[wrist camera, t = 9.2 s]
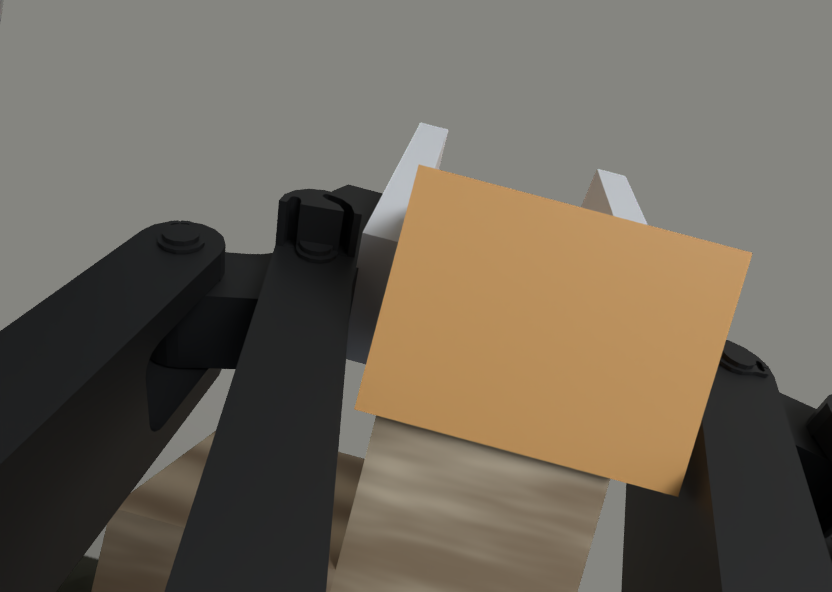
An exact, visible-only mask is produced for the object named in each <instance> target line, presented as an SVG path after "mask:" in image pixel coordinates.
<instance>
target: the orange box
mask: <svg viewBox="0 0 832 592" xmlns="http://www.w3.org/2000/svg"><path fill="white" fill-rule="evenodd" d="M751 257H752V253H751V252H747V251H744V250H740V249H736V248H732V247H729V246H725V245H721V244H717V243H713V242H710V241H706V240H702V239H698V238H695V237H691V236H687V235H683V234H680V233H676V232H672V231H668V230H664V229H661V228H657V227H653V226H649V225H646V224H642V223H638V222H634V221H631V220H627V219H623V218H619V217H616V216H612V215H608V214H604V213H600V212H597V211H593V210H589V209H585V208H582V207H577V206H574V205H570V204H566V203H563V202H559V201H555V200H551V199H547V198H544V197H540V196H536V195H533V194H529V193H525V192H521V191H517V190H514V189H510V188H506V187H502V186H498V185H495V184H491V183H487V182H483V181H479V180H476V179H472V178H468V177H465V176H461V175H457V174H453V173H449V172H446V171H442V170H438V169H435V168H431V167H427V166H423V165H418V169H417V173H416V177H415V180H414V184H413V188H412V192H411V196H410V199H409V203H408V207H407V211H406V215H405V218H404V222H403V226H402V230H401V234H400V237H399V241H398V245H397V249H396V253H395V256H394V260H393V264H392V268H391V272H390V275H389V279H388V283H387V287H386V291H385V294H384V298H383V302H382V306H381V310H380V313H379V317H378V321H377V325H376V329H375V332H374V336H373V340H372V344H371V348H370V351H369V355H368V359H367V363H366V367H365V370H364V374H363V378H362V382H361V385H360V390H359V393H358V397H357V401H356V405H355V408H354V409H355V410H359V411H363V412H366V413H370V414H373V415H377V416H381V417H384V418H388V419H392V420H396V421H399V422H403V423H407V424H410V425H414V426H418V427H421V428H425V429H429V430H433V431H436V432H440V433H444V434H447V435H451V436H455V437H458V438H462V439H466V440H469V441H473V442H477V443H481V444H484V445H488V446H492V447H495V448H499V449H503V450H506V451H510V452H514V453H518V454H521V455H525V456H529V457H532V458H536V459H540V460H543V461H547V462H551V463H555V464H558V465H562V466H566V467H569V468H573V469H577V470H580V471H584V472H588V473H592V474H595V475H599V476H603V477H606V478H610V479H614V480H618V481H621V482H625V483H629V484H632V485H636V486H640V487H643V488H647V489H651V490H654V491H658V492H662V493H665V494H669V495H673V496H677V497H678V496H679V492H680V489H681V486H682V483H683V479H684V476H685V473H686V470H687V466H688V463H689V460H690V456H691V453H692V450H693V447H694V443H695V440H696V437H697V434H698V430H699V427H700V424H701V420H702V417H703V414H704V411H705V407H706V404H707V401H708V398H709V394H710V391H711V388H712V384H713V381H714V378H715V375H716V371H717V368H718V365H719V362H720V358H721V355H722V352H723V348H724V345H725V342H726V338H727V335H728V332H729V329H730V325H731V322H732V319H733V315H734V312H735V309H736V306H737V303H738V299H739V296H740V293H741V290H742V286H743V283H744V280H745V276H746V273H747V270H748V267H749V263H750V260H751Z"/></svg>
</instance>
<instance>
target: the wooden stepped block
mask: <svg viewBox="0 0 832 592" xmlns="http://www.w3.org/2000/svg"><path fill="white" fill-rule="evenodd" d="M215 432H216V431H215ZM215 432H213V433H212V434H211V435H209V436H208V437H207V438H205V439H204V440H203V441H201V442H200V443H199V444H197V445H196V446H194V447H193V448H192V449H190V450H189V451H187V452H186V453H185V454H183V455H182V456H181V457H179V458H178V459H177V460H175V461H174V462H172V463H171V464H170V465H168V466H167V467H166V468H164V469H163V470H161V471H160V472H159V473H157V474H156V475H155V476H153V477H152V478H151V479H149V480H148V481H146V482H145V483H144V484H143V485H141V486H140V487H138V488H137V489H135V490H134V491H133V492H132V493H130V494H129V495H128V497H127V498H126V499H125V501H124V502H123V503H122V505H121V506H120V507H119V509H118V510H117V511H116V513H115V514H114V515H113V517H112V518H111V519H110V521H109V522H108V523H107V527H106V531H105V535H104V540H103V544H102V548H101V552H100V557H99V561H98V565H97V569H96V574H95V578H94V582H93V586H92V591H91V592H164V591H165V588H166V585H167V582H168V579H169V576H170V572H171V569H172V566H173V563H174V560H175V557H176V554H177V551H178V548H179V544H180V541H181V538H182V535H183V532H184V529H185V526H186V523H187V520H188V516H189V513H190V510H191V507H192V504H193V501H194V498H195V495H196V491H197V488H198V485H199V482H200V479H201V476H202V473H203V470H204V467H205V463H206V460H207V457H208V454H209V451H210V448H211V445H212V442H213V438H214V435H215ZM609 481H610V478H606V477H603V476H599V475H595V474H592V473H588V472H584V471H580V470H577V469H573V468H569V467H566V466H562V465H558V464H555V463H551V462H547V461H543V460H540V459H536V458H532V457H529V456H525V455H521V454H518V453H514V452H510V451H506V450H503V449H499V448H495V447H492V446H488V445H484V444H481V443H477V442H473V441H469V440H466V439H462V438H458V437H455V436H451V435H447V434H444V433H440V432H436V431H433V430H429V429H425V428H421V427H418V426H414V425H410V424H407V423H403V422H399V421H396V420H392V419H388V418H384V417H381V416H377V415H376V419H375V422H374V426H373V430H372V434H371V437H370V441H369V445H368V449H367V453H366V456H365V459H362V458H359V457H355V456H352V455H348V454H344V453H341V452H338V458H337V469H336V481H335V493H334V505H333V516H332V528H331V540H330V552H329V563H328V575H327V587H326V592H578V588H579V585H580V581H581V578H582V574H583V571H584V568H585V564H586V561H587V557H588V553H589V550H590V547H591V543H592V540H593V536H594V533H595V530H596V526H597V522H598V519H599V516H600V512H601V509H602V505H603V502H604V498H605V495H606V491H607V488H608V485H609Z"/></svg>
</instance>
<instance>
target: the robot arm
mask: <svg viewBox="0 0 832 592" xmlns="http://www.w3.org/2000/svg"><path fill="white" fill-rule="evenodd" d="M2 6H3V0H0V21H1V14H2ZM447 134H448V129H444V128H440V127H436V126H432V125H428V124H425V123H420V124H419V126H418V129H417V130H416V132H415V134H414V136H413V138H412V140H411V142H410V144H409V145H408V147H407V149H406V151H405V153H404V155H403V157H402V159H401V161H400V162H399V164H398V166H397V168H396V170H395V172H394V174H393V176H392V178H391V179H390V182H389V183H388V185H387V187H386V189H385V191H384V193H383V194H382V193H378V192H374V191H371V190H366V189H363V188H359V187H355V186H351V185H346V186H344V187H341V188H339V189H337V190H334V191H332V192H329V191H325V190H315V189H304V190H295V191H292V192H290V193H287V194H284V196H283V197H282V198H281V199H280V200H279V209H278V220H277V233H276V245H275V248H274V252H273V253H269V254H240V253H227V252H225V241H224V238H223V236H222V235H221V234H220V233H218V232H217V231H216V230H215V229H213V228H210V227H208V226H205V225H203V224H198V223H193V222H190V221H169V222H165V223H160V224H154V225H152V226H150V227H148V228H146V229H144V230H142V231H140V232H139V233H138V234H136V235H135V236H133V237H132V238H130V239H129V240H128V241H127V242H125V243H123V244H122V245H121V246H119V247H118V248H116V249H115V250H114V251H112V252H111V253H109V254H108V255H107V256H105V257H104V258H103V259H101V260H100V261H98V262H97V263H95V264H94V265H93V266H91V267H90V268H88V269H87V270H86V271H84V272H83V273H81V274H80V275H79V276H77V277H76V278H74V279H73V280H71V281H70V282H69V283H67V284H66V285H64V286H63V287H62V288H60V289H59V290H57V291H56V292H55V293H53V294H52V295H50V296H49V297H48V298H46V299H45V300H43V301H42V302H41V303H39V304H38V305H36V306H35V307H34V308H33V309H31V310H29V311H28V312H26V313H25V314H24V315H22V316H21V317H19V318H18V319H17V320H15V321H14V322H12V323H11V324H10V325H8V326H7V327H5V328H4V329H3V330H1V331H0V592H56V591H57V590H58V589H59V587H60V586H61V585H62V583H63V582H64V581H65V579H66V578H67V577H68V575H69V574H70V573H71V571H72V570H73V569H74V567H75V566H76V565H77V563H78V562H79V561H80V559H81V558H82V557H83V555H84V554H85V553H86V551H87V550H88V549H89V547H90V546H91V545H92V543H93V542H94V541H95V539H96V538H97V537H98V535H99V534H100V533H101V531H102V530H103V529H104V527H105V526H106V525H107V523H108V522H109V521H110V519H111V518H112V517H113V515H114V514H115V513H116V511H117V510H118V509H119V507H120V506H121V505H122V503H123V502H124V501H125V499H126V498H127V497H128V495H129V494H130V493H131V491H132V490H133V489H134V487H135V486H136V485H137V483H138V482H139V481H140V479H141V478H142V477H143V475H144V474H145V473H146V471H147V470H148V469H149V468H150V466H151V465H152V463H153V462H154V461H155V460H156V458H157V457H158V456H159V454H160V453H161V452H162V450H163V449H164V448H165V446H166V445H167V443H168V442H169V441H170V440H171V438H172V437H173V435H174V434H175V433H176V432H177V430H178V429H179V428H180V426H181V425H182V423H183V422H184V421H185V420H186V418H187V417H188V416H189V414H190V413H191V412H192V410H193V409H194V408H195V406H196V405H197V404H198V402H199V401H200V400H201V398H202V397H203V396H204V394H205V393H206V392H207V390H208V389H209V388H210V386H211V385H212V384H213V382H214V381H215V380H216V378H217V377H218V376H219V374H220V371H221V369H236V370H235V373H234V376H233V379H232V383H231V386H230V389H229V392H228V395H227V398H226V401H225V404H224V407H223V411H222V414H221V417H220V420H219V423H218V426H217V429H216V432H215V435H214V438H213V442H212V445H211V448H210V451H209V454H208V457H207V460H206V463H205V467H204V470H203V473H202V476H201V479H200V482H199V485H198V488H197V491H196V495H195V498H194V501H193V504H192V507H191V510H190V513H189V516H188V520H187V523H186V526H185V529H184V532H183V535H182V538H181V541H180V544H179V548H178V551H177V554H176V557H175V560H174V563H173V566H172V569H171V572H170V576H169V579H168V582H167V585H166V588H165V591H164V592H326V587H327V575H328V563H329V552H330V540H331V528H332V516H333V505H334V493H335V481H336V469H337V458H338V446H339V434H340V422H341V409H342V399H343V387H344V375H345V364H346V359H348V360H352V361H355V362H359V363H363V364H366V363H367V359H368V355H369V351H370V348H371V344H372V340H373V336H374V332H375V329H376V325H377V321H378V317H379V313H380V310H381V306H382V302H383V298H384V294H385V291H386V287H387V283H388V279H389V275H390V272H391V268H392V264H393V260H394V256H395V253H396V249H397V245H398V241H399V237H400V234H401V230H402V226H403V222H404V218H405V215H406V211H407V207H408V203H409V199H410V196H411V192H412V188H413V184H414V180H415V177H416V173H417V169H418V165H423V166H427V167H431V168H435V169H438V170H439V166H440V162H441V158H442V154H443V150H444V146H445V142H446V138H447ZM581 207H582V208H585V209H589V210H593V211H597V212H600V213H604V214H608V215H612V216H616V217H619V218H623V219H627V220H631V221H634V222H638V223H642V224H646V225H648V224H647V222H646V220H645V218H644V216H643V214H642V211H641V209H640V207H639V205H638V203H637V200H636V198H635V196H634V194H633V192H632V190H631V187H630V185H629V183H628V181H627V179H626V176H623V175H619V174H615V173H612V172H608V171H604V170H600V169H597V170H596V173H595V175H594V178H593V180H592V182H591V185H590V187H589V189H588V192H587V194H586V197H585V199H584V201H583V204H582V206H581ZM626 484H627V485H626V507H625V527H624V548H623V571H622V592H832V395H829V396H828V397H827V398H826V399H825V400H824V402H823V403H822V404H821V405H820V406H819V407H818V408H817V409H815V408H813V407H810V406H808V405H806V404H804V403H801V402H799V401H797V400H795V399H793V398H790V397H788V396H786V395H784V394H782V393H780V392H779V390H778V387H777V384H776V381H775V377H774V376H773V374H772V372H771V371H770V369H769V367H768V366H767V365H766V364H765V363H764V362H763V361H762V360H761V359H760V358H759V357H757V356H756V355H754V354H753V353H751V352H750V351H748V350H747V349H745V348H744V347H741V346H740V345H737V344H735V343H732V342H731V341H728V340H726V342H725V345H724V348H723V352H722V355H721V358H720V362H719V365H718V368H717V371H716V375H715V378H714V381H713V384H712V388H711V391H710V394H709V398H708V401H707V404H706V407H705V411H704V414H703V417H702V420H701V424H700V427H699V430H698V434H697V437H696V440H695V443H694V447H693V450H692V453H691V456H690V460H689V463H688V466H687V470H686V473H685V476H684V479H683V483H682V486H681V489H680V492H679V496H678V497H677V496H673V495H669V494H665V493H662V492H658V491H654V490H651V489H647V488H643V487H640V486H636V485H632V484H629V483H626Z"/></svg>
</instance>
